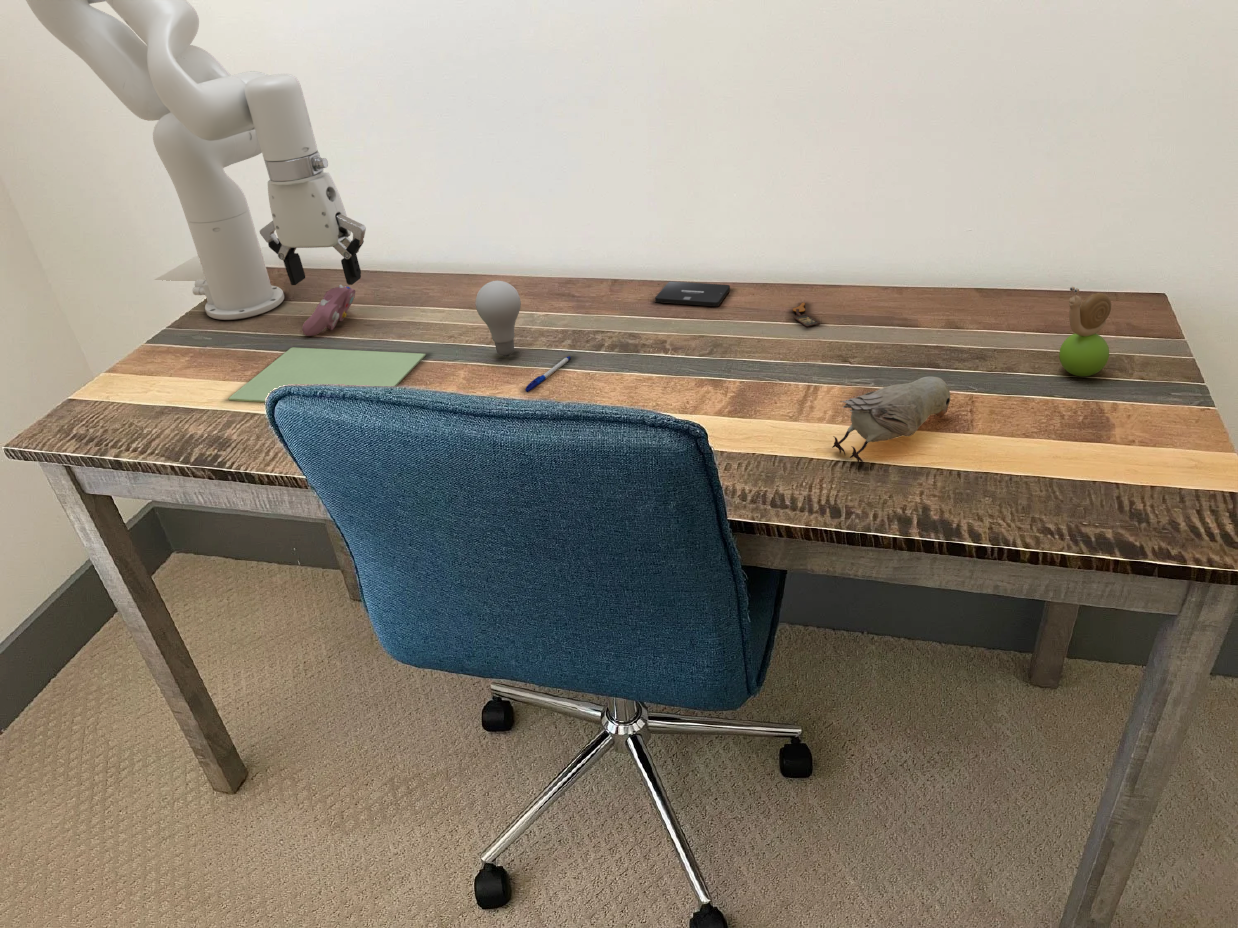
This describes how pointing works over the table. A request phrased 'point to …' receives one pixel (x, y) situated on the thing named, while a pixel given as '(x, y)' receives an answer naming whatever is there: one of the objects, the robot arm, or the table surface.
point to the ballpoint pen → (546, 375)
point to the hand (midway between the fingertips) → (326, 281)
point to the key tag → (804, 316)
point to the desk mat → (329, 370)
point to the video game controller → (329, 310)
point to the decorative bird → (895, 410)
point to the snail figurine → (1086, 335)
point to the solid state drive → (692, 293)
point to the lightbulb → (499, 313)
